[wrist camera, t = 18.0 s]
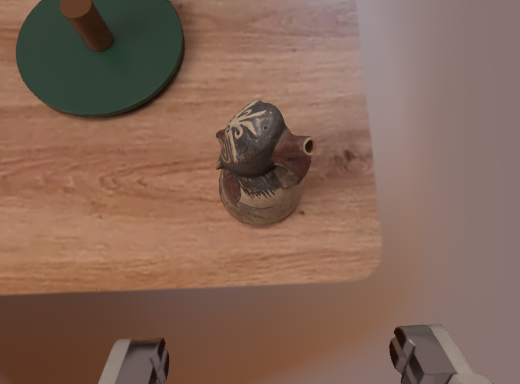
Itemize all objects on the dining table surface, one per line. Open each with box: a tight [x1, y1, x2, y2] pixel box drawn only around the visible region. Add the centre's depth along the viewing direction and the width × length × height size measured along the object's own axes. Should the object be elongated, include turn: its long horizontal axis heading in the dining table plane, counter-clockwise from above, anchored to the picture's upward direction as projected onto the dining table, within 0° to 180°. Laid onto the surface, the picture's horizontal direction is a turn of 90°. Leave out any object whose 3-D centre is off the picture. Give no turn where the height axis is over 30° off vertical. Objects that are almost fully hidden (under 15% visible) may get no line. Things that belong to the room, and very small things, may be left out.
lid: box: [16, 0, 184, 117], centre depth 27 cm, size 16×16×5 cm
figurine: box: [215, 100, 316, 225], centre depth 20 cm, size 7×7×12 cm
